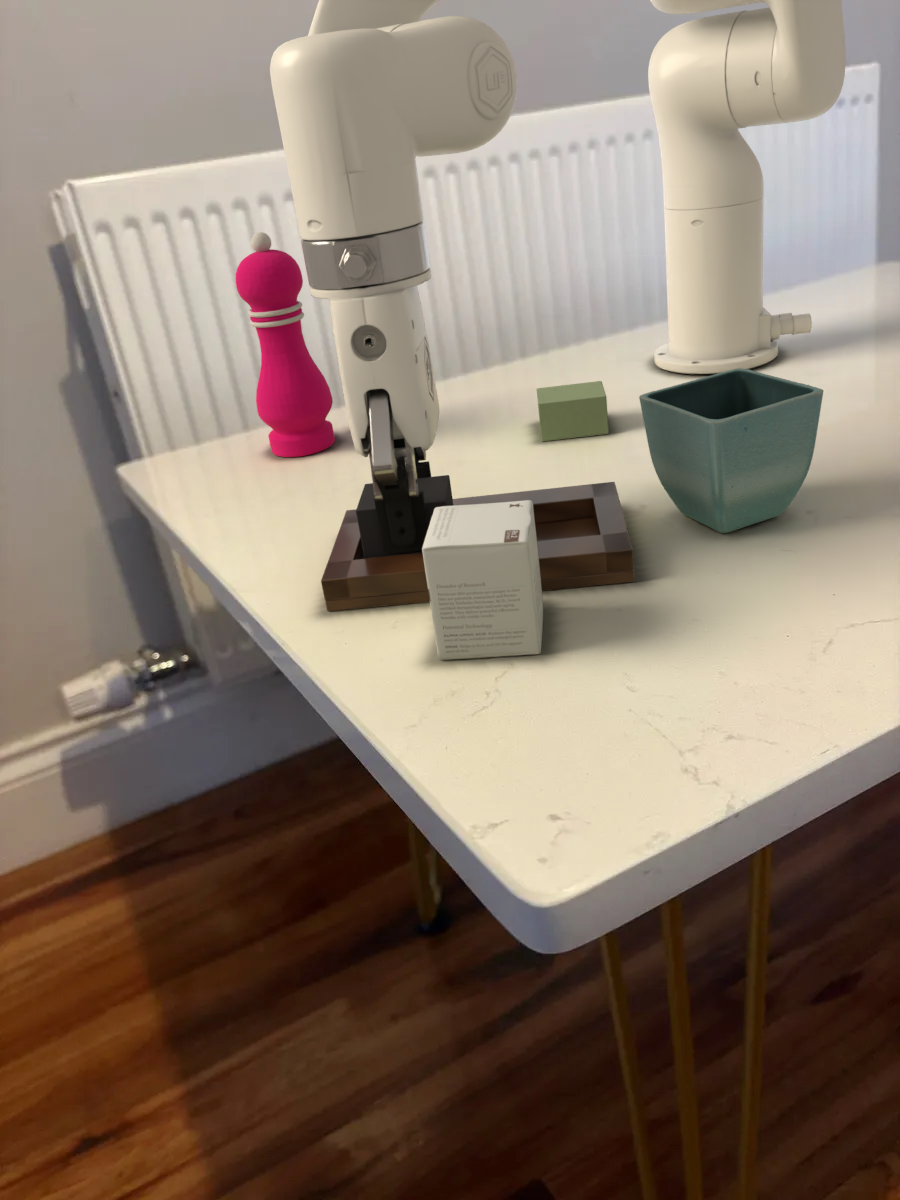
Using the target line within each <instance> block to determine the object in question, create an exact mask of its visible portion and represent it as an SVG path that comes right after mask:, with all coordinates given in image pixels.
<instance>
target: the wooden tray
mask: <svg viewBox="0 0 900 1200" xmlns="http://www.w3.org/2000/svg"><path fill="white" fill-rule="evenodd" d="M525 500H531V501H532V502H533V510H534V519H535V528H536V538H537V547H538V557H539V567H540V577H541V589H542V592H543V591H553V590H564V589H572V588H584V587H585V588H586V587H593V586H603V585H614V584H623V583H626V584H627V583H634V582H635V579H636V578H635V563H634V562H635V561H634V549H633V545H632V541H631V537H630V533H629V531H628V527H627V522H626V518H625V515H624V511H623V508H622V503H621V501H620V496H619V493H618V488H617V485H616V482H615V481H608V482H606V481H605V482H598V483H597V482H596V483H589V484H579V485H571V486H562V487H560V486H559V487H552V488H543V489H534V490H532V489H531V490H522V491H515V492H505V493H504V492H503V493H497V494H496V493H495V494H494V493H493V494H486V495H485V494H484V495H477V496H467V497H459V498H453V505H471V504H487V503H501V502H513V501H525ZM356 509H357V508H355V509H354V508H353V509H346V510H345V513H344V515H343V519H342V521H341V525H340V527H339V530H338V533H337V535H336V538H335V541H334V544H333V547H332V549H331V553H330V555H329V558H328V560H327V563H326V565H325V569H324V571H323V574H322V577H321V580H320V583H321V589H322V593H323V598H324V603H325V606H326V611H327V612H336V611H337V612H338V611H346V610H355V609H356V610H357V609H368V608H379V607H388V606H397V605H398V606H400V605H408V604H419V603H427V602H429V603H430V601H429V593H428V586H427V579H426V573H425V566H424V559H423V553H422V552H420V553H410V554H401V555H391V556H381V557H371V558H365V557H364V553H363V547H362V542H361V537H360V531H359V526H358V521H357V515H356Z"/></svg>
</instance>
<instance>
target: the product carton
mask: <svg viewBox="0 0 900 1200" xmlns="http://www.w3.org/2000/svg"><path fill="white" fill-rule="evenodd" d="M422 553H423V559H424V566H425V573H426V579H427V586H428V593H429V601H430V602H429V607H430V612H431V620H432V625H433V626H432V627H433V632H434V639H435V647H436V652H437V657H438V659H440V660H448V661H449V660H465V659H480V658H481V659H482V658H498V657H500V658H501V657H516V656H531V655H539V654H541V652H542V642H543V627H544V622H543V621H544V600H543V591H542V589H541V577H540V567H539V557H538V547H537V538H536V528H535V519H534V510H533V502H532V501H531V500H525V501H513V502H501V503H487V504H471V505H453V506H442V507H436V508H435V509H434V512H433V515H432V518H431V521H430V524H429V527H428V531H427V534H426V537H425V540H424V544H423V547H422Z"/></svg>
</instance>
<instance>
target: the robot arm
mask: <svg viewBox="0 0 900 1200" xmlns="http://www.w3.org/2000/svg"><path fill="white" fill-rule="evenodd" d="M439 1H440V0H318V2H317V5H316V7H315V12H314V16H313V18H312V21H311V24H310V27H309V30H308V34H307V35H305V36H301V37H297V38H293V39H290V40H288V41H285V42H284V43H282V44H280V45H279V46H277V48H276V49H275V50H274V51H273V53H272V56H271V59H270V64H269V75H270V82H271V89H272V95H273V101H274V105H275V110H276V116H277V121H278V125H279V131H280V136H281V143H282V146H283V152H284V159H285V163H286V167H287V173H288V178H289V183H290V189H291V195H292V201H293V206H294V212H295V216H296V222H297V227H298V233H299V238H300V239H301V240H300V244H301V249H302V254H303V260H304V265H305V271H306V275H307V281H308V286H309V290H310V295H311V297H313V298H314V299H320V300H328V301H329V308H330V309H329V310H330V317H331V323H332V330H333V331H332V335H333V338H334V344H335V351H336V356H337V364H338V369H339V376H340V377H339V378H340V381H341V388H342V393H343V400H344V405H345V410H346V415H347V421H348V426H349V430H350V435H351V439H352V443H353V446H354V450H355V452H356V453H357V454H359V455H360V456H362V457H363V458H368V457H369V464H370V465H369V466H370V472H371V481H372V483H373V488H374V496H375V497H374V502H375V508H376V514H377V519H378V525H379V531H380V536H381V542H382V548H383V551H384V552H385V553H386V554H397V553H406V552H416V551H422V547H423V544H424V540H425V537H426V534H427V531H428V527H429V525H428V519H427V512H426V506H425V499H424V493H423V491H418V482H417V478H425V477H432V472H431V464H430V461H427V453H426V452H427V451H428V450H429V449H431V447H432V446H433V444H434V442H435V438H436V435H437V431H438V430H437V429H438V425H439V418H440V403H439V401H440V400H439V395H438V391H437V390H438V389H437V385H436V379H435V374H434V368H433V363H432V357H431V350H430V344H429V337H428V332H427V326H426V320H425V315H424V310H423V305H422V304H423V303H422V299H421V296H420V291H419V287H418V286H419V285H422V284H424V283H425V282H429V280H431V278H432V271H431V263H430V256H429V250H428V241H427V235H426V228H425V227H426V226H425V221H424V211H423V206H422V205H423V204H422V197H421V190H420V182H419V174H418V168H417V161H416V159H417V157H419V158H420V157H421V158H422V157H433V156H443V155H453V154H459V153H464V152H465V153H466V152H469V151H473V150H475V149H479V148H480V147H482V146H484V145H485V144H488V143H489V142H491V141H492V140H493V139H494V138H496V136H498V135H499V133H501V132H502V130H503V129H504V128H505V126H506V125H507V123H508V121H509V120H510V118H511V115H512V113H513V111H514V108H515V104H516V100H517V95H518V74H517V68H516V67H517V66H516V63H515V60H514V58H513V55H512V52H511V50H510V48H509V46H508V44H507V43H506V42H505V41H504V39H503V38H502V36H501V35H500V34H499V33H498V32H497V31H496V30H495V29H493V28H492V27H491V26H489V25H487V24H486V23H485V22H482V21H481V20H478V19H476V18H472V17H468V16H460V15H449V16H440V17H434V18H428V19H424V20H421V19H422V18H423V17H424V15H426V13H428V11H429V10H430V9H431V8H433V6H434V5H436V4H437V3H438V2H439ZM649 2H650V3H651V5H652V7H654V8H655V9H656V10H657V11H659V12H662V13H663V14H667V15H668V14H669V15H688V14H696V13H704V12H711V11H716V10H721V9H722V10H723V9H728V8H734V7H740V6H746V5H752V4H759V3H763V4H766V5H767V7H763V8H757V9H750V10H740V11H735V12H733V11H732V12H728V13H722V14H716V15H709V16H704V17H699V18H696V19H692V20H689V21H686V22H684V23H681V24H678V25H676V26H675V27H672V28H671V29H669V30H668V31H667V32H666V33H664V34H663V35H662V36H661V38H660V39H659V40H658V41H657V43H656V45H655V46H654V47H653V50H652V52H651V54H650V58H649V62H648V67H647V69H648V72H647V81H648V91H649V98H650V102H651V106H652V107H651V108H652V111H653V116H654V121H655V125H656V131H657V137H658V143H659V151H660V161H661V174H662V193H663V196H662V197H663V216H664V219H663V220H664V245H665V246H664V247H665V272H666V275H665V276H666V296H667V297H666V298H667V300H666V301H667V325H668V326H667V327H668V328H667V329H668V330H667V331H668V342H666V343H664V344H661V345H660V346H659V347H657V348H656V350H655V351H654V353H653V354H654V355H653V358H654V360H653V361H654V363H655V365H656V366H657V367H658V368H659V369H662V370H664V371H667V372H671V373H676V374H677V373H678V374H687V375H715V374H718V373H722V372H726V371H730V370H733V369H738V368H743V369H749V370H751V369H753V368H757V367H760V366H763V365H765V364H768V363H770V362H771V361H773V360H774V359H775V358H776V357H777V356H778V354H779V342H778V341H777V340H779V339H780V336H783V335H801V334H809V333H811V332H812V327H813V326H812V324H813V322H812V316H811V314H810V313H800V314H793V313H792V312H786V313H779V314H778V313H777V314H771V313H770V312H769V311H768V310H767V309H766V308H765V307H764V197H765V196H764V192H765V191H764V176H763V170H762V167H761V165H760V162H759V160H758V157H757V156H756V154H755V152H754V151H753V149H752V148H751V147H750V145H749V144H748V142H747V141H746V139H745V138H744V137H743V135H742V133H741V132H740V131H739V129H746V128H749V127H750V128H751V127H760V126H770V125H781V124H782V125H783V124H790V123H798V122H805V121H809V120H812V119H815V118H818V117H820V116H822V115H824V114H826V113H827V112H828V111H830V110H831V109H832V107H833V106H834V105H835V104H836V102H837V101H838V99H839V97H840V95H841V92H842V89H843V86H844V83H845V82H844V81H845V76H846V62H847V61H846V60H847V59H846V57H847V56H846V53H847V50H846V35H845V23H844V14H843V4H842V0H649Z"/></svg>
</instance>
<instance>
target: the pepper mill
mask: <svg viewBox="0 0 900 1200" xmlns="http://www.w3.org/2000/svg"><path fill="white" fill-rule="evenodd" d="M250 243H251V247H252V249H253V250H254V251H255V252H252V253H250V254H248V255H246V256H245V257H244V258H243V259H241V261H240V262H239V264H238V265H237V268H236V272H235V287H236V291H237V293H238V295H239V296H240V298H241V299H242V300H243V301H244V302H245V303H246V304H247V305H248V306H249V307H250V309H249V310H248V311H247V315H248V317H249V319H250V321H249V325H250V326H251V327H252V328H255V331H256V334H257V337H258V340H259V347H260V370H259V375H258V381H257V386H256V394H255V395H256V396H255V403H256V411H257V415H258V417H259V419H260V420H261V421H262V422H263V423H264V424H266V425H267V426H268V427H269V428H271V429H272V430H271V431H270V432H269V434H268V442H269V446H270V450H271V453H272V454H273V455H275V456H277V457H281V458H298V457H306V456H311V455H313V454H317V453H320V452H322V451H325V450H327V449H328V448H331V447H332V446H333V445H334V444H335V442H336V437H335V431H334V427H333V423H332V422H330V421H329V420H327V419H326V418H327V417H328V416H329V413H330V412H331V410H332V406H333V403H334V402H333V401H334V400H333V396H332V392H331V388H330V386H329V384H328V382H327V380H326V378H325V376H324V374H323V373H322V372H321V370H320V369H319V367H318V365H317V363H316V362H315V361H314V359H313V357H312V356H311V354H310V351H309V350H308V347H307V345H306V342H305V338H304V335H303V330H302V329H303V328H302V320H303V318H304V317H305V313H304V311H303V308H302V307H303V302H301V301H300V300H298V296H299V294H300V292H301V291H302V288H303V284H304V279H303V275H302V270H301V267H300V266H299V263H298V262H297V260H296V259H295V258H294V257H293V256H291V255H290V254H289V253H287V252H285V251H283V250H279V249H274V248H273V249H271V248H272V238H271V237H270V236H269V235H268V234H267V233H266V232H263V231H259V232H256V233H255V234H253V235H252V237H251V240H250Z"/></svg>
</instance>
